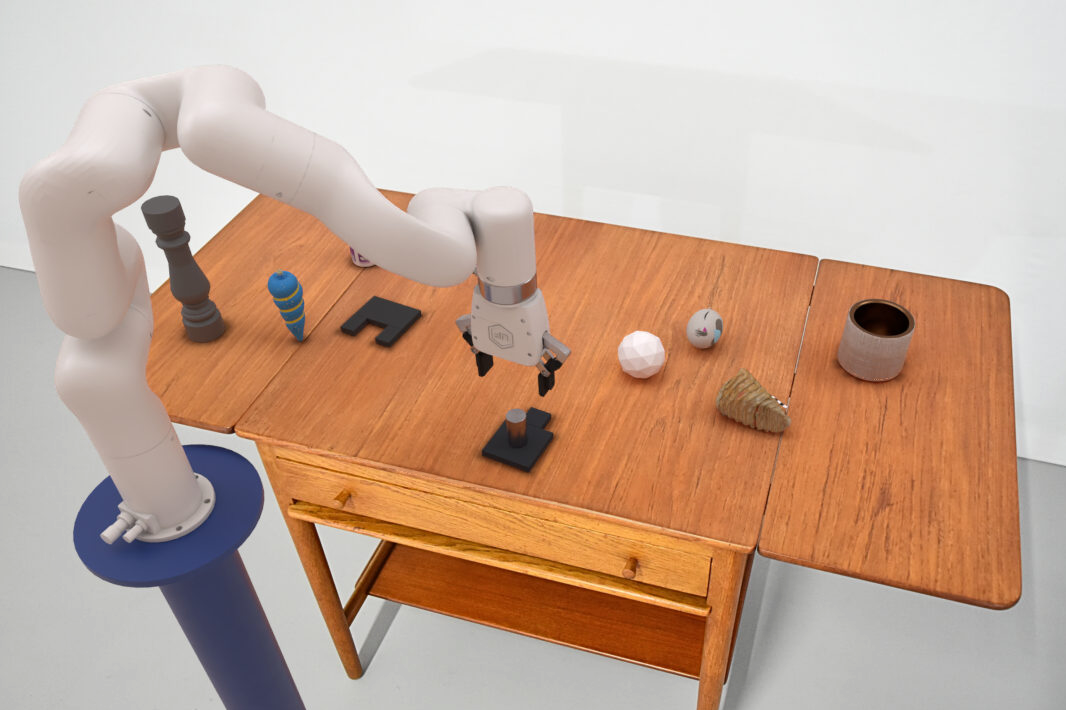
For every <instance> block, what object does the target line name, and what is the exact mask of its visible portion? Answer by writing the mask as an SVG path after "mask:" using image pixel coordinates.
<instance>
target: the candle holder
mask: <svg viewBox="0 0 1066 710" xmlns="http://www.w3.org/2000/svg"><path fill="white" fill-rule="evenodd" d="M140 210H141V213H142V216H143V218H144V221H145V223H146V226H147V228H148V230H151V233H152V234H153V235H155V236H156V238H155V241H154V243H155V245H156V246H157V248H159V249H160V250H162V251H163V253H164V255H165V258H166V260H167V264H168V265H167V267H168V274H169V276H168V278H169V287H170V288H169V290H170V292H171V294H172V296H173V298H174V300H177V302H179V303H180V304H181V306H182V307H181V311H180V315H181V316H182V319H181V321H182V324H183V326H184V329H185V332H186V334H187V337H188V339H189V340H190V341H192V342H194V343H200V344H203V343H210V342H212V341H215V340H217V339H218V338H220V337H222V335H223V334H225V331H226V325H225V321H224V319H223V316H222V313H221V311H220V309H219V308H218V307H217V305H216V302H215V301H214V300H212V299H210V296H209V295H210V292H211V282H210V280H209V279H208V277H207V276H206V274H205V273H204V271H203V270H202V268H201V267H200V265H199V264H198V262H197V261H196V259H195V258H194V256H193V254H192V251H191V248H190V247H191V246H190V245H189V244H190V242H191V237H192V236H191V235H190V233H189V231H188V230H187V231H186V229H185V228H186V227H185V226H186V220H187V218H186V214H185V212H184V209H183V205H182V203H181V201H180V199H179V198H178V197H177V196H175V195H169V194H165V195H164V194H163V195H156V196H153V197H150V198H148V199H146V200H145V201H143V203H141V205H140Z"/></svg>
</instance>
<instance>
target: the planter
mask: <svg viewBox="0 0 1066 710" xmlns="http://www.w3.org/2000/svg"><path fill="white" fill-rule="evenodd" d="M916 323H917V322H916V319H915V316H914V315H913V314H912V313H911V312H910V311H909V310H908V309H907V308H906V307H905V306H903V305H901V304H900V303H897V302H895V301H891V300H888V299H885V298H884V299H883V298H865V299H861V300H858V301H857V302H855V303H853V304H852V305H851V306H850V308H849V309H848V311H847V316H846V320H845V324H844V328H843V331H842V335H841V338H840V342H839V345H838V348H837V361H838V363H839V365H840V366H841V367H842V369H843V370H844V371H845V372H846V373H848V374H849V375H851V376H853V377H855V378H856V379H860V380H863V381H867V382H886V381H889V380H893V379H895V378H896V377H898V376H899V374H900V373H901V372H902V370H903V368H904V365H905V361H906V359H907V355H908V352H909V348H910V344H911V342H912V339H913V335H914V332H915V328H916ZM838 358H839V359H838ZM840 362H841V363H840ZM848 370H849V371H848ZM851 372H852V373H851ZM899 372H900V373H899ZM853 373H854V374H853ZM898 373H899V374H898ZM855 374H856V375H855ZM857 375H858V376H857ZM895 375H896V376H895ZM893 376H894V377H893ZM863 377H864V378H863ZM890 377H892V378H890ZM886 378H888V379H886ZM874 379H875V380H874ZM876 379H877V380H876ZM878 379H879V380H878ZM880 379H883V380H880Z"/></svg>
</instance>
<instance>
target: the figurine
mask: <svg viewBox="0 0 1066 710" xmlns="http://www.w3.org/2000/svg"><path fill="white" fill-rule="evenodd" d="M685 330H686V332H685V333H686V337H687V340H688V342H689V344H691V345H692V346H693V347H695V348H697V349H707V348H711V347H712V346H714V345H715V344H716V343H717V342H718V341H720V338H721V336H722V334H723V332H724V322H723V318H722V317H721V315H720V313H718V312H717V311H716V310H714V309H711V306H709V307H708V308H701V309H699V310H697V311H696V312H695V313H694V314H693V315H691V316H690V318H689V320H688V322H687V325H686V329H685Z"/></svg>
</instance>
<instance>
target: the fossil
mask: <svg viewBox="0 0 1066 710" xmlns="http://www.w3.org/2000/svg"><path fill="white" fill-rule="evenodd" d="M782 407H783V408H784V409H787V408H788V405H786V404H785V403H783V402H782V401H780V400H779V399H778V398H776V397H775V396H774V395H772V394H771V393H770V392H769V391H768V390H767V389H766V388H765V387H764V386H762V384H761V382H760V381H759V380H758V379H756V378H755V376H754V375H753V374H752V373H751V372H750V371H749V369H748V368H743V367H742V368H739V369H738V372H737V373H736V374H735V375H734V376H733V377H731V378H729V379H728V380H727V381H725V382H724V383H723V385H722V387H721V388H720V389H719V391H718V392H717V394H716V397H715V408H716V410H717V411H718V412H719V414H720V413H721V415H722V416H727V418H728V419H734V420H735V422H736V423H742V425H744V426H750V428H751V429H755V428H756V429H757V431H762V430H764V431H765V432H766V433H768V432H770V433H780V432H783V431H784V430H786V429H788V427H790V426H791V425H792V424H791V423H792V418H791V416H789V415H787V414H785V411H783V408H782Z"/></svg>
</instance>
